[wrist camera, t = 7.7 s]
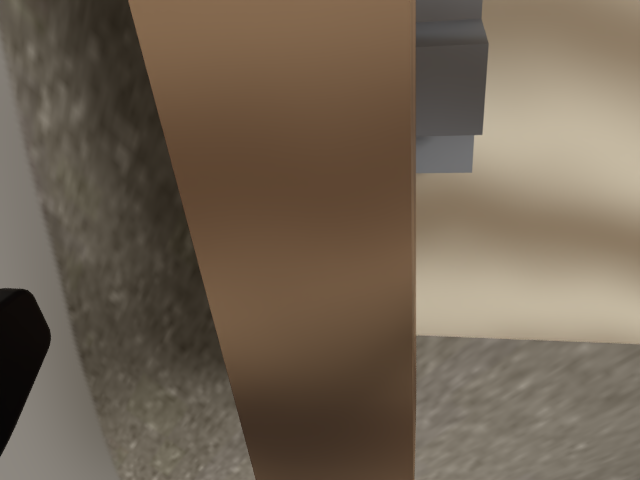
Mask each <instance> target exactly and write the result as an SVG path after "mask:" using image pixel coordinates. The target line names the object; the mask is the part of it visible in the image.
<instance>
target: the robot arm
mask: <svg viewBox="0 0 640 480" xmlns="http://www.w3.org/2000/svg"><path fill="white" fill-rule="evenodd" d="M50 341H51V334H50V329H49V327H48V325H47V323H46V321H45V319H44V316H43V314H42V312H41V310H40V308H39V306H38V304H37V302H36V300H35V298H34V296H33V294H31V293H30V292H29V291H28V290H25V289H11V288H3V289H0V456H1V454H2V453H3V451H4V449H5V447H6V445H7V443H8V441H9V439H10V437H11V435H12V432H13V430H14V428H15V426H16V424H17V421H18V419H19V416H20V414H21V412H22V410H23V407H24V405H25V402H26V400H27V398H28V395H29V393H30V391H31V388H32V386H33V384H34V381H35V379H36V377H37V374H38V372H39V370H40V367H41V365H42V362H43V360H44V358H45V356H46V353H47V351H48V349H49V346H50Z"/></svg>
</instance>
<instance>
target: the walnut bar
mask: <svg viewBox="0 0 640 480" xmlns="http://www.w3.org/2000/svg"><path fill="white" fill-rule="evenodd" d="M128 2H129V5H130V9H131V13H132V17H133V20H134V24H135V28H136V32H137V35H138V39H139V43H140V47H141V50H142V54H143V58H144V62H145V65H146V69H147V73H148V77H149V80H150V84H151V88H152V92H153V96H154V99H155V103H156V107H157V111H158V114H159V118H160V122H161V126H162V129H163V133H164V137H165V141H166V144H167V148H168V152H169V156H170V159H171V163H172V167H173V171H174V174H175V178H176V182H177V186H178V189H179V193H180V197H181V201H182V204H183V208H184V212H185V216H186V219H187V223H188V227H189V231H190V234H191V238H192V242H193V246H194V249H195V253H196V257H197V261H198V265H199V268H200V272H201V276H202V280H203V283H204V287H205V291H206V295H207V298H208V302H209V306H210V310H211V313H212V317H213V321H214V325H215V328H216V332H217V336H218V340H219V343H220V347H221V351H222V355H223V358H224V362H225V366H226V370H227V373H228V377H229V381H230V385H231V388H232V392H233V396H234V400H235V403H236V407H237V411H238V415H239V418H240V422H241V426H242V430H243V434H244V437H245V441H246V445H247V449H248V452H249V456H250V460H251V464H252V467H253V471H254V475H255V479H256V480H414V472H415V429H416V0H128Z"/></svg>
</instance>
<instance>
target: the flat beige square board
mask: <svg viewBox="0 0 640 480" xmlns="http://www.w3.org/2000/svg"><path fill="white" fill-rule="evenodd" d="M416 335H424V336H450V337H475V338H500V339H525V340H550V341H575V342H600V343H625V344H640V0H416Z"/></svg>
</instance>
